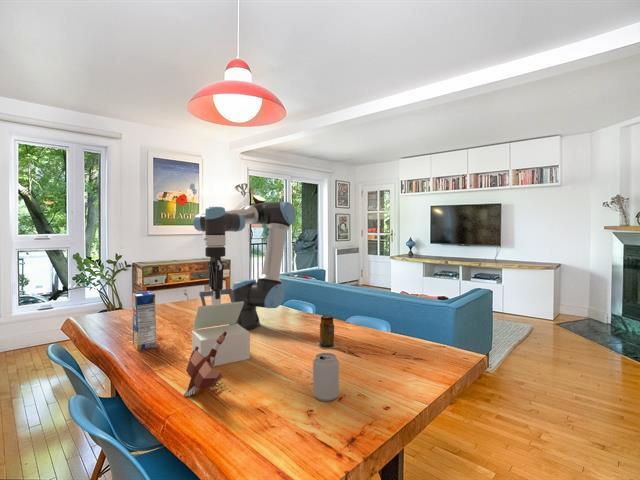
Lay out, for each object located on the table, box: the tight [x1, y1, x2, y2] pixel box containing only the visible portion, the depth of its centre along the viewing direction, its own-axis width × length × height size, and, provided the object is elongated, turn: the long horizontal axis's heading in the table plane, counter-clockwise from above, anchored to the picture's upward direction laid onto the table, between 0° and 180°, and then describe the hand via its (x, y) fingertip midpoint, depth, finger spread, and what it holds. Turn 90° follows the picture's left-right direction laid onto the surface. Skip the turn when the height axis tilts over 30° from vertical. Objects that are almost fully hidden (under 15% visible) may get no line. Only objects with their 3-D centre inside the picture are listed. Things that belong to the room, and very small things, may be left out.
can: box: [312, 352, 340, 402], centre depth 102 cm, size 8×8×12 cm
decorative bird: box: [183, 332, 227, 398], centre depth 106 cm, size 28×18×15 cm, turn 33°
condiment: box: [316, 314, 339, 350], centre depth 147 cm, size 7×8×12 cm
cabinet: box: [191, 324, 251, 367], centre depth 133 cm, size 18×14×10 cm
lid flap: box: [192, 288, 244, 331], centre depth 137 cm, size 17×14×9 cm
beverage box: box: [131, 290, 157, 352], centre depth 146 cm, size 7×11×22 cm, turn 36°
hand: (216, 306), depth 137 cm, fingers closed on lid flap, 2 cm apart
